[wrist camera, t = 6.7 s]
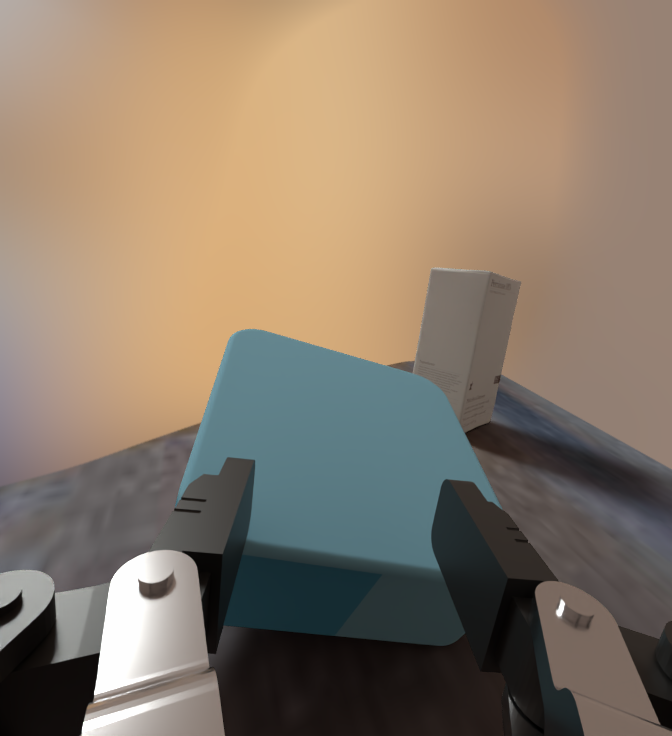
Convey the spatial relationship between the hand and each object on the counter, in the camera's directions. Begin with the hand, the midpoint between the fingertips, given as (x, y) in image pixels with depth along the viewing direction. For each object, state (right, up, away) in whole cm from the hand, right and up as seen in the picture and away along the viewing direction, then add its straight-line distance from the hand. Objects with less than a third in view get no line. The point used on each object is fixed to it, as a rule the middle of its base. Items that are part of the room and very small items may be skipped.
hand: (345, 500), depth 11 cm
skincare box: (+11, -2, +29) cm, 31 cm away
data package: (0, -4, +2) cm, 4 cm away
